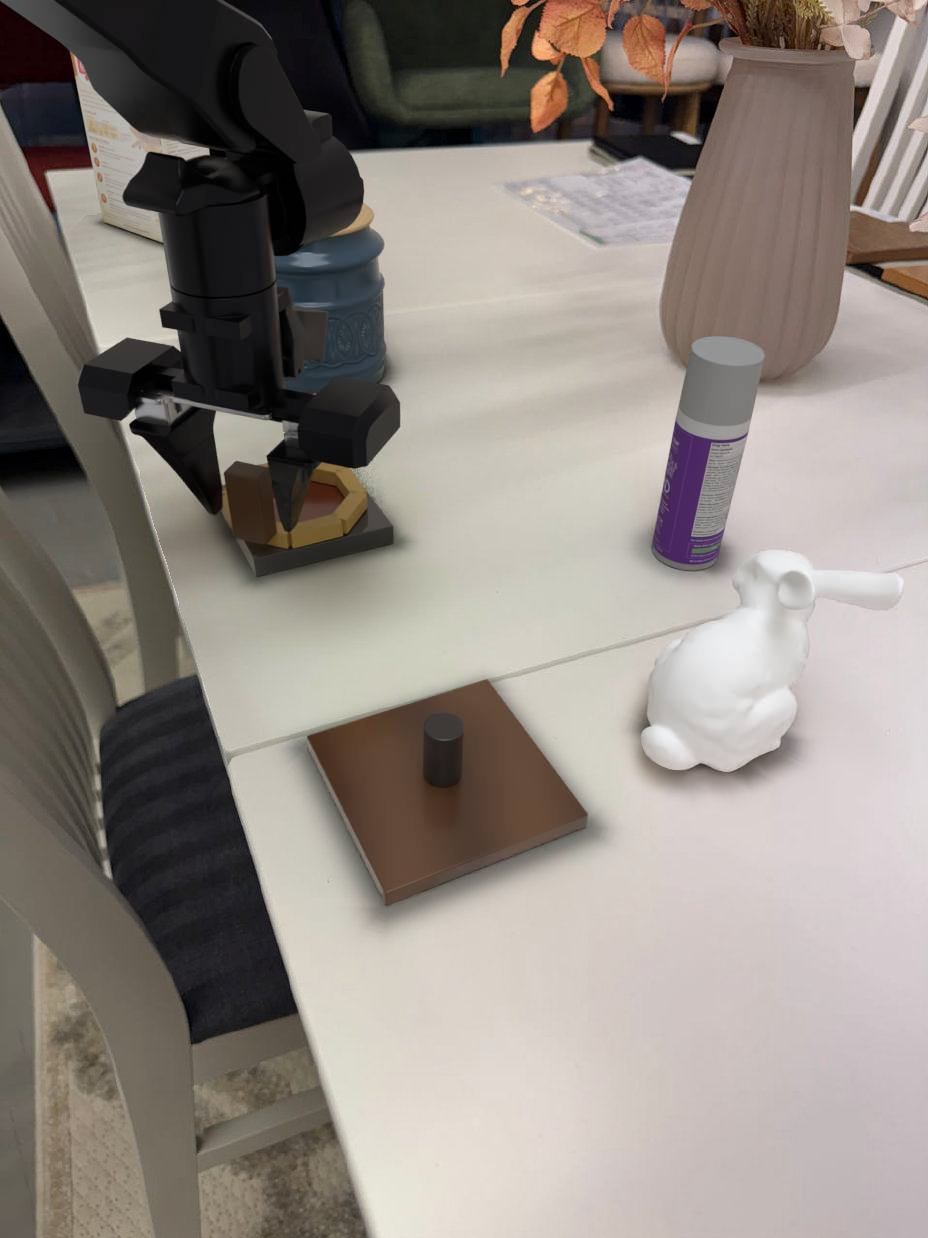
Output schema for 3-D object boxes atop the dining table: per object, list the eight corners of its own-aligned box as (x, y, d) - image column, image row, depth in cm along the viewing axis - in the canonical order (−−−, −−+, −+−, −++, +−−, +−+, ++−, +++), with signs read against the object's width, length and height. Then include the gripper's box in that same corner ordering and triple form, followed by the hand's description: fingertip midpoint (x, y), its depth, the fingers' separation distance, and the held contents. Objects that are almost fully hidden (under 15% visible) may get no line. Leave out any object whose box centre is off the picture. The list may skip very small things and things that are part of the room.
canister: (251, 344, 93) (229, 148, 82) (384, 343, 94) (380, 149, 83) (240, 404, 83) (214, 189, 72) (389, 402, 84) (385, 191, 73)
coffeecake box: (222, 236, 118) (200, 56, 106) (175, 249, 114) (147, 63, 101) (147, 210, 125) (119, 39, 113) (101, 222, 121) (65, 45, 109)
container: (638, 540, 68) (674, 340, 59) (693, 528, 70) (736, 330, 61) (674, 576, 65) (718, 370, 56) (731, 562, 67) (783, 359, 57)
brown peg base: (385, 906, 44) (383, 845, 41) (307, 748, 52) (301, 687, 49) (586, 827, 48) (597, 766, 45) (486, 691, 56) (490, 631, 53)
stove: (256, 577, 63) (253, 557, 62) (216, 503, 70) (213, 485, 69) (393, 543, 67) (393, 524, 66) (343, 476, 74) (342, 458, 73)
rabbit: (721, 650, 59) (766, 484, 52) (859, 732, 54) (932, 560, 46) (595, 745, 53) (626, 569, 45) (738, 848, 47) (800, 669, 40)
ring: (383, 486, 70) (381, 409, 66) (318, 572, 62) (310, 490, 58) (266, 462, 72) (257, 387, 68) (188, 542, 64) (172, 461, 60)
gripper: (433, 258, 56) (430, 488, 66) (157, 217, 60) (192, 438, 70) (357, 326, 48) (367, 577, 57) (42, 273, 52) (101, 515, 62)
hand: (253, 520), depth 62 cm, fingers open, 5 cm apart
